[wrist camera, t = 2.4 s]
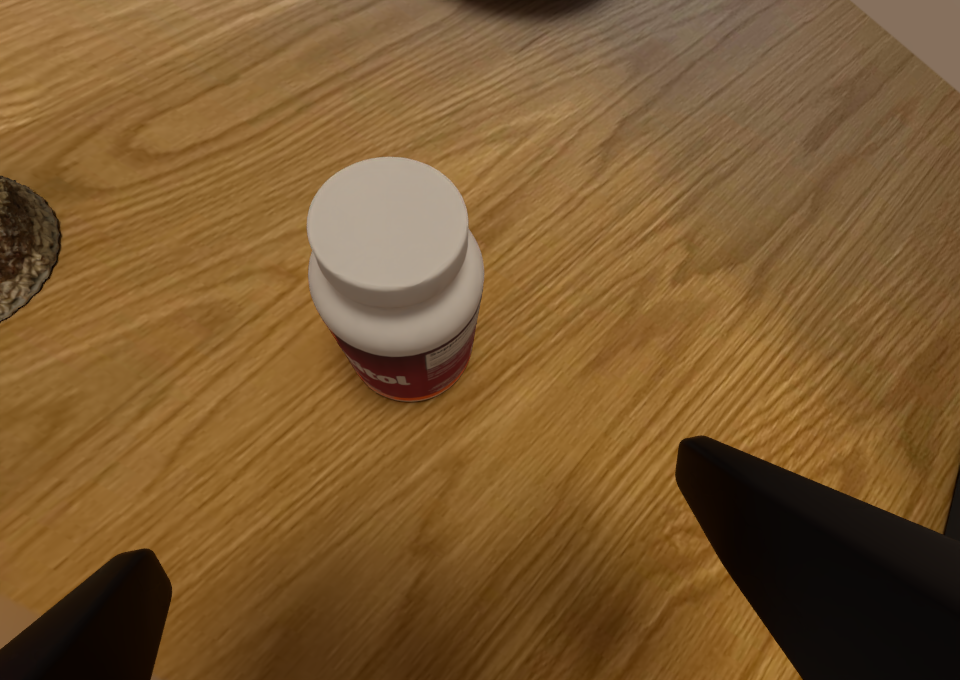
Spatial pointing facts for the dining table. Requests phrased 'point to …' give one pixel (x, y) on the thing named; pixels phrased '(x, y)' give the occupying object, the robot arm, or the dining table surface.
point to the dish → (954, 515)
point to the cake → (24, 244)
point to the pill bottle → (396, 274)
